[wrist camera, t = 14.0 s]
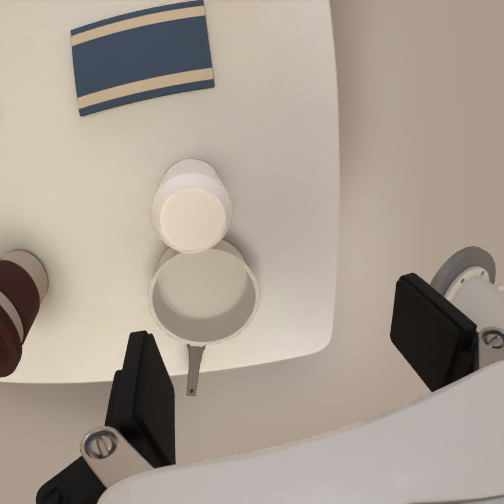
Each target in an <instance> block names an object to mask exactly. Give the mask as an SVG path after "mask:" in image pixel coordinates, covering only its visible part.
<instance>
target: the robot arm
mask: <svg viewBox="0 0 504 504" xmlns="http://www.w3.org/2000/svg"><path fill="white" fill-rule="evenodd" d="M503 288H504V287H503V285H502V284H500V285H497V286H494V285H493V284H492V283H490V282H489V275H488V273H487V271H486V270H485V269H483V268H482V267H479V266H472V267H469V268H467V269H466V270H464V271H463V272H462V273H460V274H459V275H458V276H457V277H456V278H455V279H454V281H453V282H452V283H451V285H450V286H449V288H448V289H447V291H446V293H445V295H444V296H442V295H441V294H440V293H439V292H437V291H436V290H435V289H434V288H433V287H431V286H430V285H429V284H428V283H426V282H425V281H424V280H423V279H421V278H420V277H419V276H418V275H417V274H415V273H410V274H406V275H403V276H401V277H400V278H399V280H398V281H397V283H396V291H395V300H394V308H393V317H392V324H391V332H390V338H391V341H392V343H393V344H394V345H395V346H396V348H397V349H398V350H399V351H400V353H401V354H402V355H403V356H404V358H405V359H406V360H407V361H408V363H409V364H410V365H411V366H412V368H413V369H414V370H415V371H416V373H417V374H418V375H419V376H420V378H421V379H422V380H423V381H424V383H425V384H426V385H427V387H428V388H429V389H430V390H431V392H432V393H430V394H428V395H426V396H423V397H421V398H419V399H417V400H414V401H412V402H410V403H408V404H405V405H402V406H400V407H398V408H395V409H393V410H390V411H388V412H385V413H382V414H380V415H377V416H375V417H372V418H369V419H366V420H364V421H361V422H358V423H355V424H352V425H349V426H346V427H343V428H340V429H337V430H334V431H330V432H327V433H324V434H320V435H317V436H314V437H310V438H306V439H303V440H299V441H295V442H291V443H287V444H283V445H279V446H275V447H271V448H266V449H261V450H257V451H252V452H247V453H241V454H236V455H231V456H226V457H220V458H214V459H208V460H201V461H194V462H188V463H182V464H176V461H175V412H174V411H175V409H174V408H175V406H174V405H175V402H174V401H175V400H174V399H175V398H174V397H175V396H174V395H175V394H174V388H173V385H172V382H171V380H170V377H169V375H168V372H167V370H166V367H165V365H164V362H163V360H162V357H161V355H160V352H159V349H158V347H157V344H156V341H155V339H154V336H153V334H148V333H147V331H138V332H132V333H130V336H129V340H128V345H127V349H126V354H125V359H124V364H123V369H122V370H117V371H116V372H115V375H114V380H113V384H112V389H111V394H110V399H109V404H108V410H107V415H106V420H105V426H101V427H97V428H94V429H92V430H90V431H89V432H88V433H87V434H85V435H84V437H83V438H82V440H81V443H80V452H81V454H82V456H81V457H80V458H78V459H77V460H76V461H74V462H73V463H72V464H70V465H69V466H68V467H67V468H65V469H64V470H62V471H61V472H60V473H58V474H57V475H56V476H54V477H53V478H52V479H51V480H49V481H48V482H46V483H45V484H44V485H43V486H42V487H41V488H40V489H39V491H38V492H37V496H36V504H504V294H503V293H502V292H501V291H503Z"/></svg>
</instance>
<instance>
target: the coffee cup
mask: <svg viewBox="0 0 504 504" xmlns="http://www.w3.org/2000/svg"><path fill="white" fill-rule="evenodd" d="M47 287H48V279H47V274H46V272H45V269H44V267H43V266H42V264H41V263H40V261H39V260H38V259H37V258H36V257H34V256H33V255H32V254H30V253H28V252H26V251H22V250H15V251H12V252H10V253H8V254H7V255H5V256H4V257H3V258H1V259H0V377H6V376H8V375H10V374H12V373H13V372H14V371H15V369H16V367H17V365H18V363H19V361H20V359H21V355H22V345H23V343H24V341H25V339H26V337H27V335H28V333H29V330H30V328H31V326H32V324H33V322H34V320H35V318H36V316H37V314H38V311H39V307H40V304H41V302H42V300H43V298H44V296H45V294H46V292H47Z"/></svg>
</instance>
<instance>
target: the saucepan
mask: <svg viewBox="0 0 504 504" xmlns="http://www.w3.org/2000/svg"><path fill="white" fill-rule="evenodd" d="M259 303H260V288H259V284H258V281H257V278H256V277H255V275H254V273H253V272H252V270H251V269H250V268H249V267H248V266H247V264H246V262H245V260H244V258H243V256H242V255H241V253H240V252H239V251H238V250H237V249H236V248H235V247H234V246H233V245H231V244H230V243H228V242H227V241H224V240H222V239H221V240H220V241H219V242H218V243H217V244H216V245H214V246H213V247H211V248H210V249H208V250H206V251H203V252H200V253H193V254H189V253H183V252H179V251H177V250H175V249H173V248H171V247H170V248H169V249H168V250H167V251H165V253H164V254H163V256H162V257H161V258H160V260H159V263H158V265H157V268H156V273H155V275H154V276H153V278H152V281H151V283H150V285H149V291H148V306H149V309H150V313H151V315H152V317H153V319H154V321H155V322H156V324H157V325H158V326H159V327H160V328H161V329H162V330H163V331H164V332H165V333H166V334H168V335H169V336H171V337H172V338H174V339H176V340H178V341H181V342H184V343H187V347H188V351H189V372H188V384H187V396H196V389H197V382H198V375H199V368H200V362H201V358H202V353H203V351H204V349H205V346H206V345H213V344H218V343H221V342H224V341H227V340H229V339H231V338H233V337H235V336H237V335H238V334H240V333H241V332H242V331H244V330H245V329H246V328H247V326H248V325H249V324H250V323H251V322H252V320H253V319H254V317H255V315H256V313H257V310H258V307H259ZM191 388H193V389H191Z"/></svg>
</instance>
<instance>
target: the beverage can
mask: <svg viewBox="0 0 504 504" xmlns="http://www.w3.org/2000/svg"><path fill="white" fill-rule="evenodd" d="M150 215H151V222H152V226H153V228H154V231H155V232H156V234H157V236H158V237H159V238H160V239H161V240H162V241H163V242H164V243H165V244H166V245H168V246H169V247H171V248H173V249H175V250H177V251H179V252H183V253H189V254H193V253H200V252H203V251H206V250H208V249H210V248H211V247H213V246H214V245H216V244H217V243H218V242H219V241H220V240H221V239H222V238H223V237H224V236H225V234H226V233H227V231H228V229H229V227H230V224H231V221H232V204H231V200H230V198H229V195H228V193H227V191H226V189H225V188H224V186H223V184H222V182H221V180H220V178H219V176H218V175H217V173H216V171H215V170H214V169H213V168H212V167H211V166H210V165H208V164H207V163H205V162H203V161H200V160H196V159H187V160H182V161H179V162H177V163H175V164H174V165H173V166H171V167H170V168H169V169H168V170H167V172H166V173H165V175H164V176H163V178H162V180H161V183H160V185H159V187H158V189H157V191H156V194H155V196H154V198H153V201H152V204H151V211H150Z"/></svg>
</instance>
